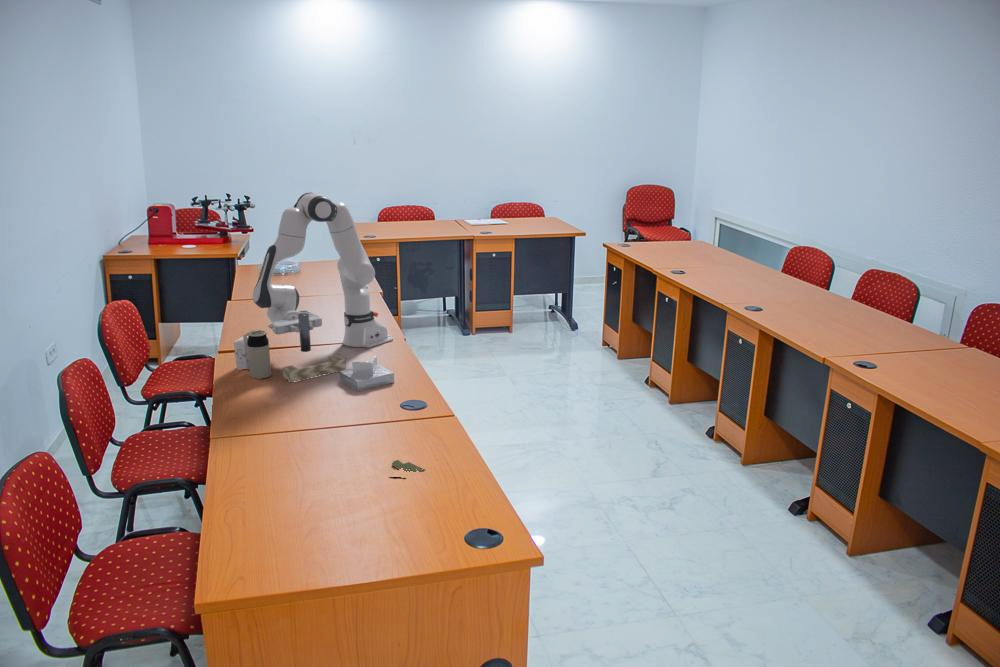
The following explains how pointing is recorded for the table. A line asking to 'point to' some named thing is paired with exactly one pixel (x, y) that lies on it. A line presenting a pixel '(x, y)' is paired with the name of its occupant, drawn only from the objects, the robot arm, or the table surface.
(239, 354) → the ink cartridge box
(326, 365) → the notched beam
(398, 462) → the olive green flat piece
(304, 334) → the steel axle
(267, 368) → the travel mug
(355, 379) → the v block
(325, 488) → the table surface
